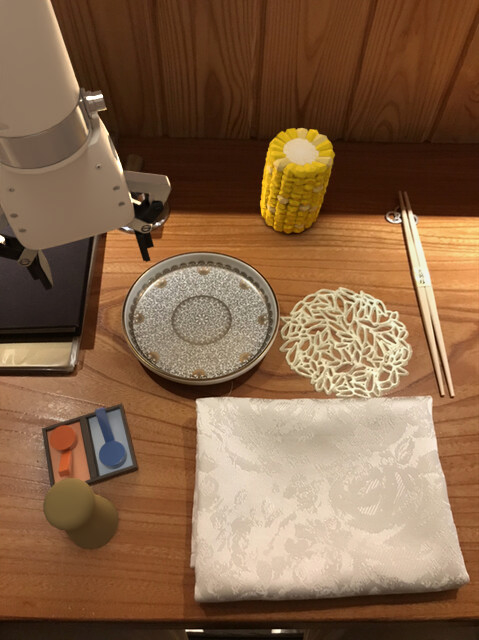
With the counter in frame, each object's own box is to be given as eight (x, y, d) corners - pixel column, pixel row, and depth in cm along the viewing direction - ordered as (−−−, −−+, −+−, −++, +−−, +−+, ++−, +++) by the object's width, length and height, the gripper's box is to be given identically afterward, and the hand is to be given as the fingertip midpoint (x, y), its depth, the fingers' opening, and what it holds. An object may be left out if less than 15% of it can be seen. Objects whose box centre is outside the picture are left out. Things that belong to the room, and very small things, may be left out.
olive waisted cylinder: (111, 488, 68) (86, 461, 59) (124, 537, 65) (100, 517, 56) (62, 507, 67) (29, 483, 58) (73, 557, 64) (40, 541, 55)
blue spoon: (93, 420, 72) (85, 410, 69) (117, 412, 73) (111, 402, 70) (104, 472, 69) (96, 464, 66) (129, 464, 69) (123, 455, 66)
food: (272, 193, 94) (328, 215, 92) (241, 231, 86) (300, 256, 84) (288, 107, 82) (352, 130, 80) (253, 143, 75) (323, 169, 73)
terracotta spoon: (85, 478, 68) (77, 470, 65) (59, 487, 68) (50, 479, 65) (76, 425, 72) (67, 415, 69) (51, 433, 72) (41, 423, 68)
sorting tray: (54, 497, 68) (51, 495, 67) (44, 431, 72) (41, 428, 71) (138, 469, 69) (136, 466, 68) (123, 406, 74) (121, 403, 73)
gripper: (139, 64, 44) (171, 213, 58) (-89, 119, 41) (4, 259, 56) (163, 126, 40) (191, 269, 55) (-86, 189, 38) (13, 320, 52)
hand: (96, 264), depth 55 cm, fingers open, 9 cm apart
